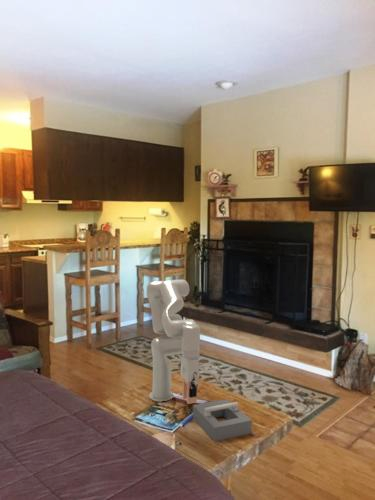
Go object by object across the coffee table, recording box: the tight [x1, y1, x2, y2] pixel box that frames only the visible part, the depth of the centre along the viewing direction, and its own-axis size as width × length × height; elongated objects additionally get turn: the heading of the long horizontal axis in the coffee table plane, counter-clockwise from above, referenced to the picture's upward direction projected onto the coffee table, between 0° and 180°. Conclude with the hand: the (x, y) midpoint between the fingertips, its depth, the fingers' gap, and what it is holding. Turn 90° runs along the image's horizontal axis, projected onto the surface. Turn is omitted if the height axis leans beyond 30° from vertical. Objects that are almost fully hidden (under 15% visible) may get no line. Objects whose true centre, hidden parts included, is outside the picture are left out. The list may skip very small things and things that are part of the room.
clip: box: [181, 377, 198, 405], centre depth 184 cm, size 6×4×10 cm, turn 23°
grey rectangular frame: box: [192, 398, 253, 442], centre depth 191 cm, size 22×18×10 cm
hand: (189, 393), depth 184 cm, fingers closed on clip, 6 cm apart
